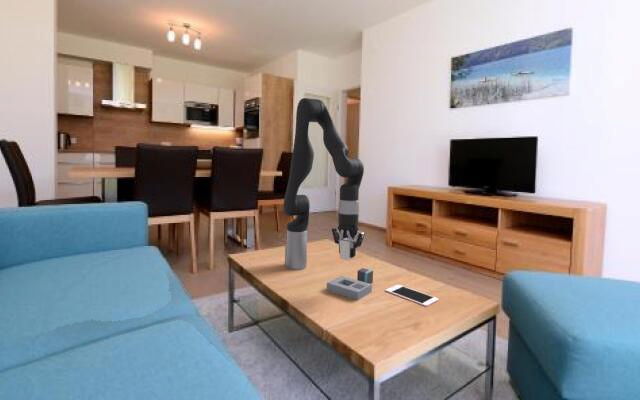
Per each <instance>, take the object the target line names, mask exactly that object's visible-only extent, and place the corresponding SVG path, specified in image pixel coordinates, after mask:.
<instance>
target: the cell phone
mask: <svg viewBox="0 0 640 400" xmlns="http://www.w3.org/2000/svg"><path fill="white" fill-rule="evenodd" d="M384 292H386V293H389V294H391V295H394V296H395V297H396V296H397V297H399V298H402V299H404V300H408V301H410V302H412V303H415V304H417V305H421V306H423V307H426V308H427V307H429V306H431V305H433V304H435V303H437V302H438V300H439V298H438V297H436V296H432V295H429V294H427V293H423V292H421V291H418V290H416V289H413V288H409V287H406V286H405V285H401V284H395V285H393V286H391V287H389V288H386V289H385V290H384Z"/></svg>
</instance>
